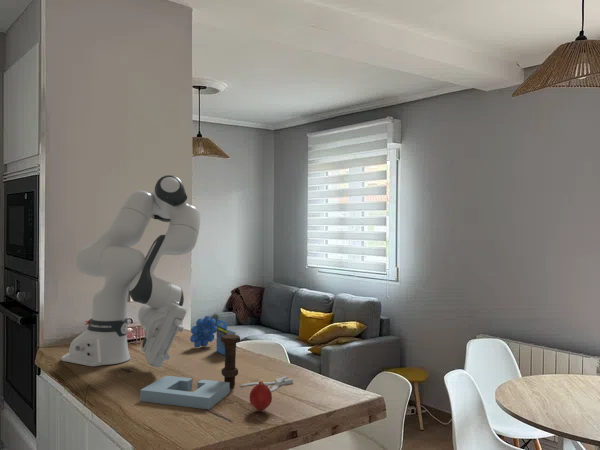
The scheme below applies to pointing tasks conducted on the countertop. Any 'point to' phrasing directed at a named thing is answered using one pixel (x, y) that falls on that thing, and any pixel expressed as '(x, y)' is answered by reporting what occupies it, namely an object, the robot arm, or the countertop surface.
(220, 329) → the label tape box
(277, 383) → the pliers
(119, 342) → the robot arm
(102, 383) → the countertop surface
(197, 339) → the grapes
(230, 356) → the bolt
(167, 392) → the pocket frame
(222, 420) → the countertop surface
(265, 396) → the onion
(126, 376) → the countertop surface
